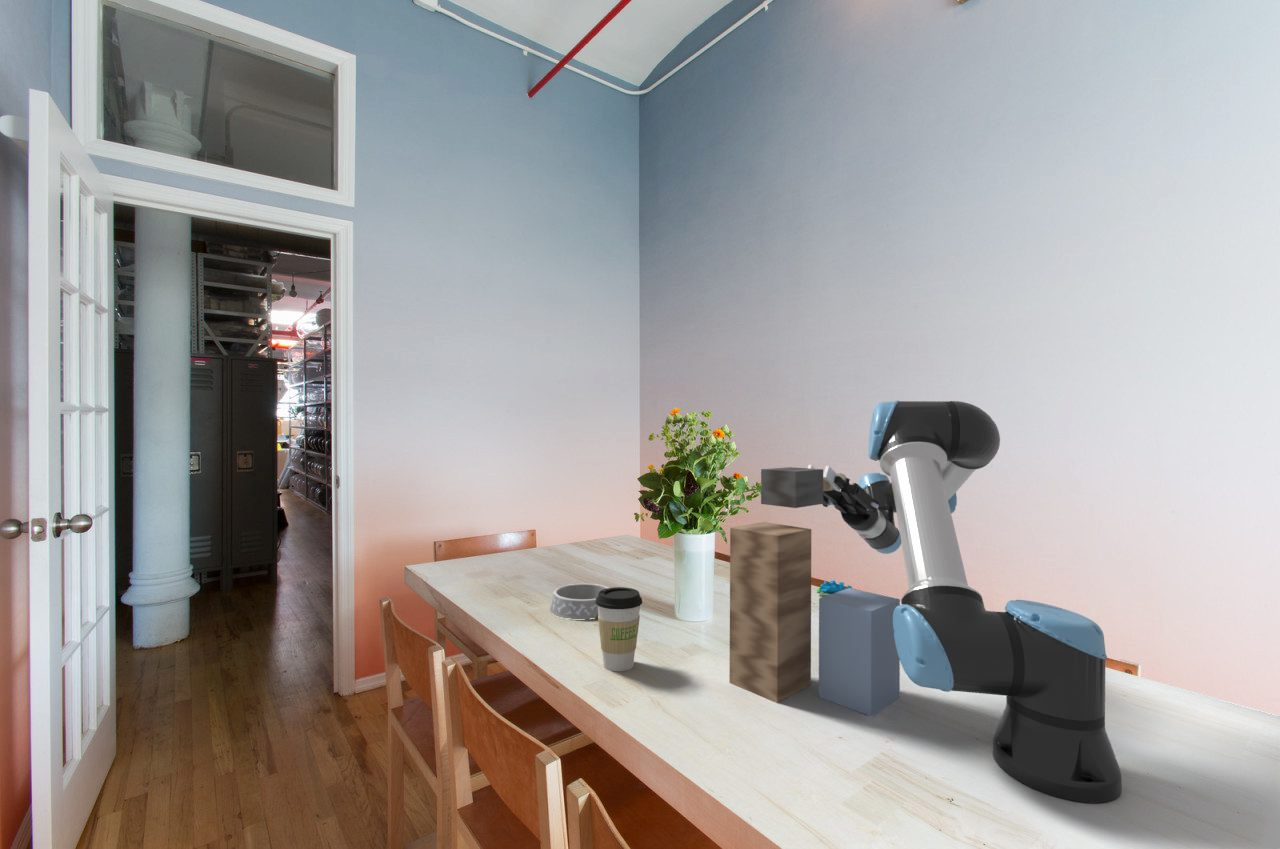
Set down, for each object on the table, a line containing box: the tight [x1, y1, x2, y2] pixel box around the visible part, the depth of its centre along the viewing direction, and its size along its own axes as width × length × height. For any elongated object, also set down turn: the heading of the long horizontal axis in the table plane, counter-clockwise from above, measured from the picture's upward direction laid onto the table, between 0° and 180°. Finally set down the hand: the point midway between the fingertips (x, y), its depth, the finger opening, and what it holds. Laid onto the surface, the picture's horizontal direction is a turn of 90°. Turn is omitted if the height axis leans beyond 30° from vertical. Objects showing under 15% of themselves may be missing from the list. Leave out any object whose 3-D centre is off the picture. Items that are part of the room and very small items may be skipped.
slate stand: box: [818, 587, 901, 717], centre depth 106 cm, size 10×11×18 cm
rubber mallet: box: [760, 466, 847, 509], centre depth 121 cm, size 8×24×7 cm, turn 132°
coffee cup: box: [595, 586, 643, 672], centre depth 120 cm, size 10×10×15 cm
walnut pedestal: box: [728, 521, 812, 704], centre depth 112 cm, size 11×11×30 cm
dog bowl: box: [549, 582, 610, 619], centre depth 157 cm, size 17×18×5 cm
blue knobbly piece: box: [816, 579, 853, 598], centre depth 161 cm, size 11×6×10 cm
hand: (817, 471), depth 123 cm, fingers closed on rubber mallet, 3 cm apart
